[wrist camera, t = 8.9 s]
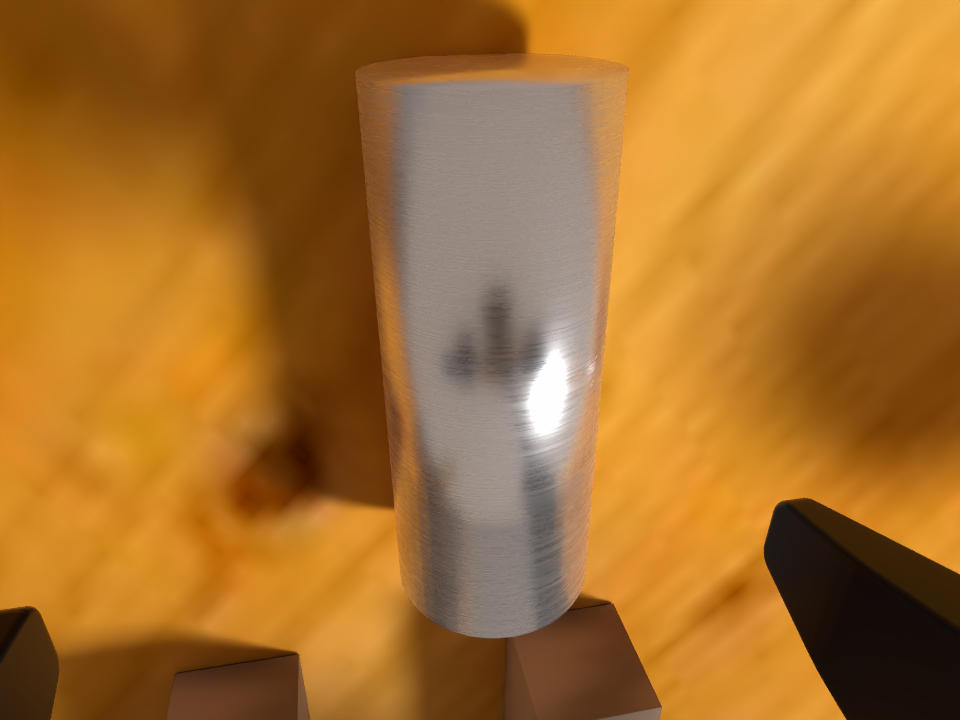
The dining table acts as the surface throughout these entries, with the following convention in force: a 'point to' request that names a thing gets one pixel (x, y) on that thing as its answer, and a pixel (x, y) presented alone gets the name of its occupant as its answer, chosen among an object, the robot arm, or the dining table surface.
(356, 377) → the dining table surface
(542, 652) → the pair of brown blocks
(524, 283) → the axle
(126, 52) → the dining table surface
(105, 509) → the dining table surface
